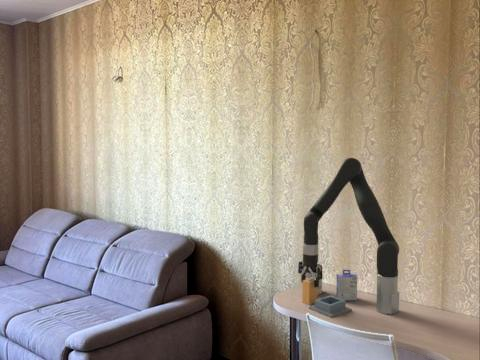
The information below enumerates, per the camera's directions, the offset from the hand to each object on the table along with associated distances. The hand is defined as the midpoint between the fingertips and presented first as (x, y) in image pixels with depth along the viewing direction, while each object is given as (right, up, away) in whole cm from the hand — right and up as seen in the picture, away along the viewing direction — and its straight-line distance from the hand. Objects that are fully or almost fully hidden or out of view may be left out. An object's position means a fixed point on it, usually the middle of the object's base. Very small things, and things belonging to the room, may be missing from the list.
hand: (309, 284), depth 226 cm
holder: (+8, -9, -10) cm, 16 cm away
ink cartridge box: (+19, -8, +5) cm, 22 cm away
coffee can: (+4, -7, +16) cm, 18 cm away
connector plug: (0, -9, +1) cm, 9 cm away
